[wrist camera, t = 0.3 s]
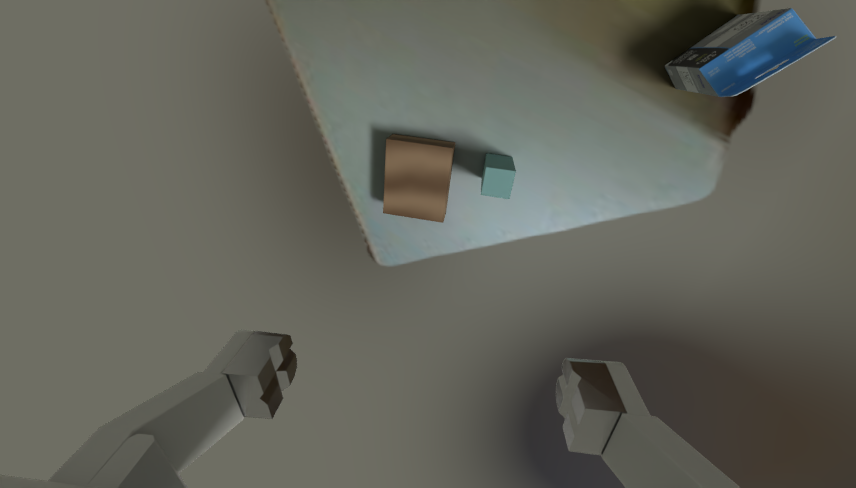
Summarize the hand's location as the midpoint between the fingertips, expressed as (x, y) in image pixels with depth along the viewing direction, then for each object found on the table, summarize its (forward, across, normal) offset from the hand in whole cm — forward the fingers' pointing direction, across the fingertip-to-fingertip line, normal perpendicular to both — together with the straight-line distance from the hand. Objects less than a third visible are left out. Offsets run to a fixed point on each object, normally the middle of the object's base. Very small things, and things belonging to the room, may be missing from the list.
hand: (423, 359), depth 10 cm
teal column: (+47, -6, +8) cm, 48 cm away
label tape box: (+46, -31, -8) cm, 56 cm away
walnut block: (+47, +6, +10) cm, 49 cm away
